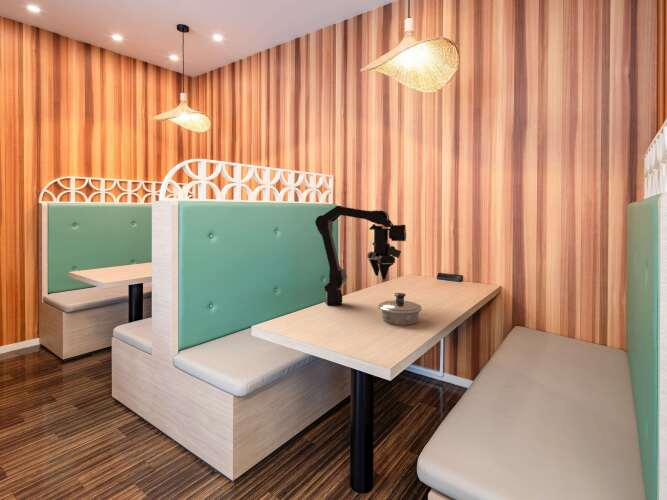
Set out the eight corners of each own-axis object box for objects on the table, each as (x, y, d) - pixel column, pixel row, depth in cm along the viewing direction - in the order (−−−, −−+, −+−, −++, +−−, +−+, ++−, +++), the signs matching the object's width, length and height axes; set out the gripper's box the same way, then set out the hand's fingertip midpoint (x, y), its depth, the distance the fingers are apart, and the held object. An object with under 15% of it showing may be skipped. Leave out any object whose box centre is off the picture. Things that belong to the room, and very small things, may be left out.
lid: (384, 314, 132) (385, 299, 131) (373, 303, 148) (374, 290, 147) (428, 313, 134) (428, 298, 134) (412, 302, 150) (413, 289, 149)
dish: (390, 313, 151) (390, 301, 151) (423, 319, 144) (424, 306, 143) (374, 322, 139) (374, 309, 139) (410, 329, 132) (410, 315, 131)
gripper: (407, 242, 149) (406, 280, 151) (391, 238, 167) (390, 273, 169) (381, 242, 147) (380, 281, 149) (367, 239, 165) (366, 274, 167)
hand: (380, 277), depth 158 cm, fingers open, 9 cm apart
